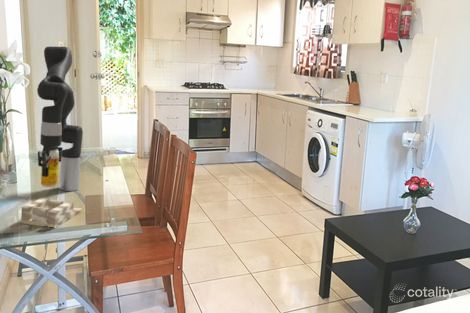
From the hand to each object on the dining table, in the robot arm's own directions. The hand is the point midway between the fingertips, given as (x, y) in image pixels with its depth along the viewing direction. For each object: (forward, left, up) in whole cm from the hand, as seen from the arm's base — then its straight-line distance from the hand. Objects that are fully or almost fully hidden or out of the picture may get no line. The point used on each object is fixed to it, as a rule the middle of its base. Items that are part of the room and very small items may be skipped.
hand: (49, 174), depth 162 cm
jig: (-4, 0, -19) cm, 20 cm away
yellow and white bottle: (0, 0, -5) cm, 5 cm away
